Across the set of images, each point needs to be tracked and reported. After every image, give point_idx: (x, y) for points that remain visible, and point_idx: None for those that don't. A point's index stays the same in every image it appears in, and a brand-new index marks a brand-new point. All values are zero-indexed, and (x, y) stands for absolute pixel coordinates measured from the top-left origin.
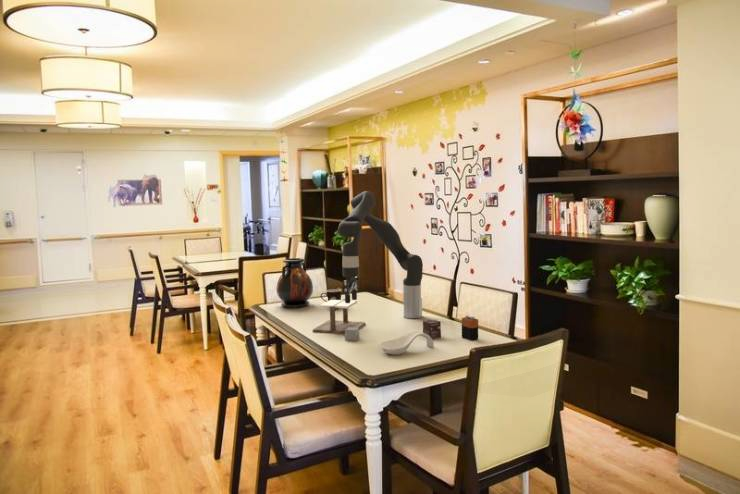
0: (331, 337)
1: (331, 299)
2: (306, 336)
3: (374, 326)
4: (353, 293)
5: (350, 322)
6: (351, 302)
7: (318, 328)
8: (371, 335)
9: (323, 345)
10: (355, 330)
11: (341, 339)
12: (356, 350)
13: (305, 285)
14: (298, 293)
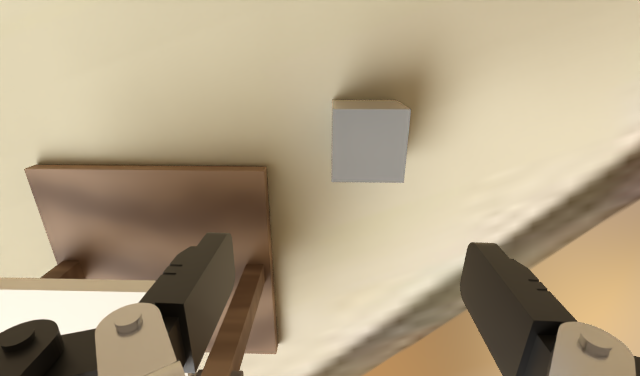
0: (349, 243)
1: None
2: (355, 342)
3: (47, 97)
4: (200, 327)
5: (74, 243)
6: (6, 309)
7: (250, 338)
8: (254, 44)
9: (500, 229)
10: (409, 108)
11: (377, 185)
12: (603, 23)
13: None
14: None
